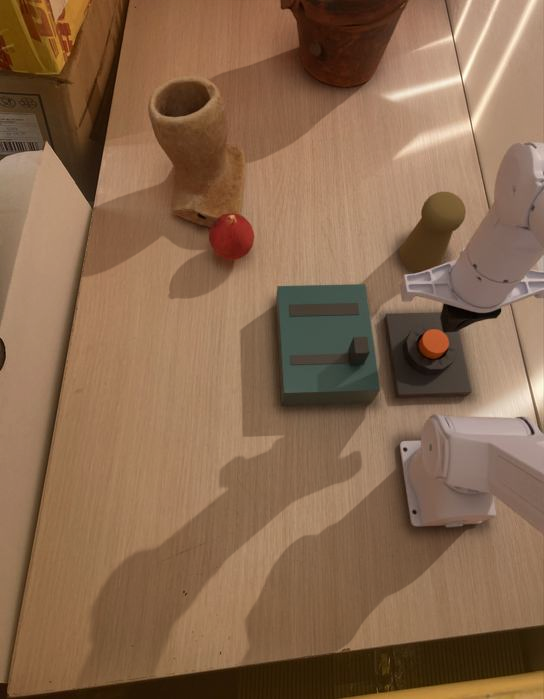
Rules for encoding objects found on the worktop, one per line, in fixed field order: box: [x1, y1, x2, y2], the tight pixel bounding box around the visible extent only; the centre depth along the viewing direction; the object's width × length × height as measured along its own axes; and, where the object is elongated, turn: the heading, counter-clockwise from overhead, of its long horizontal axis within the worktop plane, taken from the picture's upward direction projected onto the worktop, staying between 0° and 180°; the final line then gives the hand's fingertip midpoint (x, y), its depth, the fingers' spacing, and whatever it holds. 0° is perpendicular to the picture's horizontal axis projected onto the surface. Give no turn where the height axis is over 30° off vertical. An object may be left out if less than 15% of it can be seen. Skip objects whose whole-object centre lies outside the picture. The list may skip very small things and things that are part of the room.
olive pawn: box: [399, 191, 467, 274], centre depth 69 cm, size 6×6×11 cm
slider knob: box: [348, 337, 370, 365], centre depth 61 cm, size 2×2×4 cm
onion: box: [208, 213, 255, 261], centre depth 70 cm, size 6×6×8 cm
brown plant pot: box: [279, 0, 409, 88], centre depth 81 cm, size 18×20×18 cm
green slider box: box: [275, 283, 381, 407], centre depth 66 cm, size 14×11×5 cm
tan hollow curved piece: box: [147, 75, 246, 228], centre depth 71 cm, size 15×12×15 cm
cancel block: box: [383, 311, 472, 399], centre depth 67 cm, size 11×9×3 cm
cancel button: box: [418, 329, 449, 359], centre depth 65 cm, size 3×3×2 cm
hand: (447, 324), depth 60 cm, fingers closed
